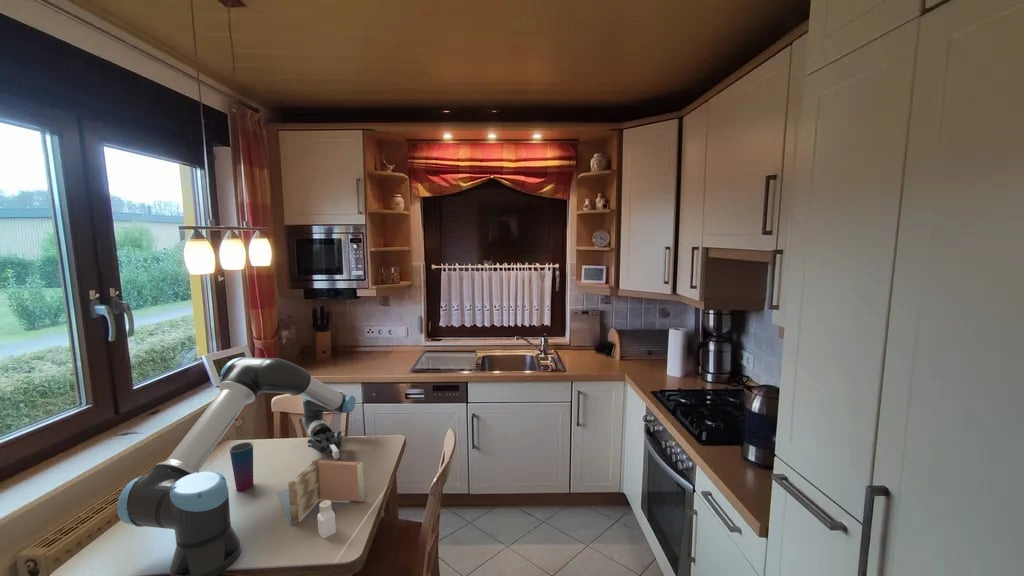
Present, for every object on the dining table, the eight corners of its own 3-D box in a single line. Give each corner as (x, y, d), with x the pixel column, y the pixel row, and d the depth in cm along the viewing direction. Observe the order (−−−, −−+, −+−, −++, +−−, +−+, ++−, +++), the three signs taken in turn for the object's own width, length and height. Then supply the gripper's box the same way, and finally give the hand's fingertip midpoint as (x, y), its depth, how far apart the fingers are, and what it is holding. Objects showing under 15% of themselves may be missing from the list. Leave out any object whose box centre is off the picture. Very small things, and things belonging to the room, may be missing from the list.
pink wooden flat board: (320, 499, 135) (317, 462, 133) (323, 495, 137) (320, 460, 135) (362, 501, 133) (360, 465, 132) (365, 498, 135) (363, 462, 133)
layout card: (290, 528, 122) (290, 526, 122) (276, 493, 139) (276, 492, 139) (366, 497, 137) (366, 496, 137) (346, 469, 154) (346, 468, 154)
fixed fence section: (316, 496, 137) (314, 459, 136) (322, 496, 137) (319, 460, 135) (289, 525, 123) (286, 484, 122) (296, 525, 123) (292, 485, 122)
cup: (230, 487, 143) (227, 447, 141) (253, 479, 148) (249, 439, 146) (236, 495, 139) (232, 453, 137) (258, 486, 143) (255, 446, 142)
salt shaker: (331, 526, 123) (329, 497, 122) (336, 533, 120) (334, 503, 119) (317, 533, 120) (315, 503, 119) (322, 540, 117) (320, 509, 116)
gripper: (337, 436, 174) (355, 458, 155) (303, 445, 166) (318, 470, 147) (336, 419, 173) (354, 439, 155) (302, 428, 165) (317, 450, 147)
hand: (336, 454), depth 151 cm, fingers closed
